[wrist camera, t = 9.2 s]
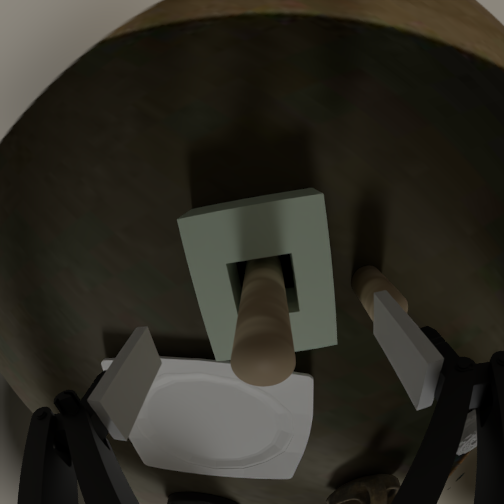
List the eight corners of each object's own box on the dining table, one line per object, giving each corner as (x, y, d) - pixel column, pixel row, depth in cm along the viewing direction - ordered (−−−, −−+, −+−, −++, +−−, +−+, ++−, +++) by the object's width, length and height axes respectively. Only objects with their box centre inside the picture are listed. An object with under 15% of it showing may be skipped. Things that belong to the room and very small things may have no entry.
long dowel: (249, 285, 26) (237, 389, 13) (243, 252, 25) (223, 341, 12) (283, 279, 25) (298, 382, 13) (278, 247, 25) (292, 332, 12)
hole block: (222, 332, 27) (216, 361, 23) (192, 208, 24) (176, 219, 20) (327, 317, 26) (337, 344, 22) (312, 187, 23) (323, 193, 19)
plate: (99, 337, 29) (89, 349, 26) (322, 351, 28) (327, 367, 26) (144, 455, 36) (140, 467, 34) (297, 468, 35) (298, 481, 33)
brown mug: (322, 501, 40) (326, 540, 30) (329, 463, 34) (337, 515, 25) (388, 487, 39) (397, 523, 29) (410, 444, 33) (428, 490, 24)
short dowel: (351, 298, 26) (372, 333, 20) (350, 268, 25) (372, 298, 19) (381, 292, 25) (406, 324, 20) (380, 262, 25) (408, 290, 19)
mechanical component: (490, 397, 31) (444, 424, 32) (502, 412, 27) (454, 442, 28) (481, 426, 34) (438, 450, 35) (489, 441, 30) (446, 467, 31)
